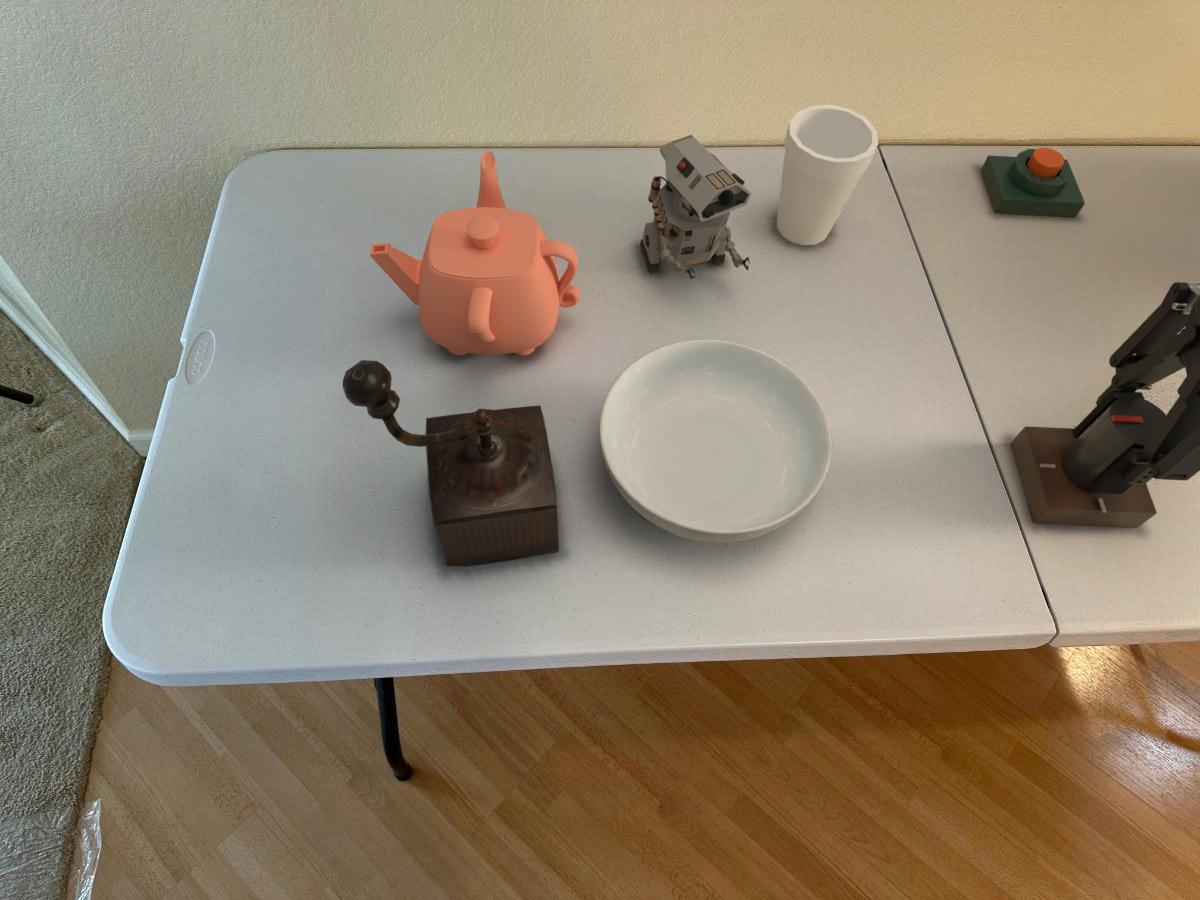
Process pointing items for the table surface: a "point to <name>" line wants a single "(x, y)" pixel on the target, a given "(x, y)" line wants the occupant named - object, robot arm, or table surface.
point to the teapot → (485, 276)
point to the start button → (1045, 162)
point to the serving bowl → (714, 440)
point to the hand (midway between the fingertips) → (1096, 461)
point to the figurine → (692, 209)
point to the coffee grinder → (476, 473)
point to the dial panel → (1071, 486)
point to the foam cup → (821, 169)
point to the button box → (1030, 188)
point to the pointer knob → (1111, 439)
